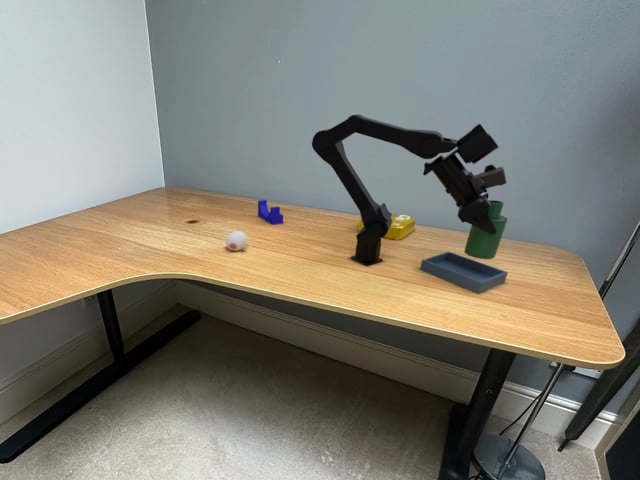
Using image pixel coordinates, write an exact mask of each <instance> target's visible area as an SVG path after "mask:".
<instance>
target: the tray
mask: <svg viewBox="0 0 640 480" xmlns="http://www.w3.org/2000/svg"><path fill="white" fill-rule="evenodd" d="M419 270H420V271H422V272H426V273H428V274H430V275H432V276H435V277H437V278H440V279H443V280H445V281H447V282H448V283H449V282H450V283H452V284H453V285H457V286H459V287H462V288H464V289H466V290H469V291H471V292H474V293H476V294H481V293H483V292H485V291H488V290H490V289H493V288H494V287H497V286H499V285H501V284H504V283H505V282H506V280H507V277H508V273H509V272H508V271H505V270H502V269H500V268H497V267H494V266H492V265H488V264H485V263H483V262H480V261H477V260H475V259H471V258H469V257H466V256H462V255H460V254H457V253H454V252H451V251H446V252H441V253H440V254H437V255H434V256H429V257H426V258H424V259H422V260H421V263H420V268H419Z"/></svg>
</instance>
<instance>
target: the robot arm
mask: <svg viewBox="0 0 640 480" xmlns="http://www.w3.org/2000/svg"><path fill="white" fill-rule="evenodd" d="M354 134H360V135H362V136H366V137H369V138H373V139H376V140H380V141H383V142H386V143H389V144H393V145H397V146H399V147H401V148H403V149H405V150H406V151H408V152H410V153H411V154H413V155H415V156H417V157H419V158H421V159H423V160H431V159H433V158H435V159H434V160H432V161H431V162H429V161H426V162H424V164H423V167H424V169H423V172H422V175H423V176H427V175H428V174H430V173H431V172H432V173H433V174H434V175H435V177H436V178H437V180H439V182H440V183H441V184H442V186H443V188H445V192H446V194H449V195H450V196H451V198H452V199H453V200H454V202H455V206H456V207H457V208H458V211H457V218H458V219H459V220H460V221H461V223H467V224H470V226H472V225H474V226H476V227H478V228H480V229H482V230H483V231H485V232H487V233H489V234H491V235H494V234H495V233H497V231H496V229H495V227H494V225H493V222H492V220H491V218H490V216H489V214H488V213H489V210H490V208H491V204H490V202H489V201H488V200H489V192H488V189H489V188H493V187H497V186H504V185H506V184H507V183H508V182H507V179H506V173H505V169H504V167H503V166H499V167H497V166H495V165H494V164H493V163H491V164H488V165H486V166H485V168H484V171H482V172H480V173H478V174H474V173H473V172H472V171H469V170H468V169H467V168H466V166H465V165H464V164H463V163H462V161H463V162H464V163H465V164H466V165H467V164H471V163H472V164H473V165H475V164H476V163H477V164H478V162H479V161H481V160H482V159H485V157H488V155H490V154H491V153H493V152H494V151H496V150H497V149H499V148H500V147H499V144H497V142H496V140H495V139H494V138H493V137H492V135H491V134H490V133H488V132H487V131H486V129H485V128H484V126H482V124H481V123H478V124H476V125H475V126H474V127H472V129H471V130H469V131H468V132H467V133H465V134H464V135H463V136H462V137H460V138H458V139H454V138H449V137H444V136H443V134H442V133H441V132H439V131H437V130H428V129H414V128H413V129H412V128H406V127H402V126H398V125H396V124H395V125H394V124H391V123H387V122H383V121H380V120H376V119H375V118H374V119H373V118H370V117H366V116H363V115H362V114H359V113H357V114H352V115H349V116H348V117H347V119H344V120H343V121H341V122H339V123H338V124H336V125H334V126H333V127H331V128H326V129H322V130H319V131H317V132H316V133H315V134H314V135H313V137H312V140H311V147H312V149H313V151H314V152H315V153H316V154H317V156H318V157H319V158H320V159H321V160H323V162H325V163H326V164H327V165H329V166H330V167H331V168H332V170H333V171H334V173H335V174H336V176H337V178H338V179H339V181H340V182H341V183H342V185H343V187H344V189H345V190H346V191H347V193H348V195H349V196H350V198H351V199H352V201H353V202H354V204H355V206H356V207H357V209H358V211H359V213H360V219H361V218H362V222H363V225H364V227H363V228H362V229H361V230H360V231H358V233H357V234H356V236H355V237H356V246H355V254H354V255H351V256H350V259H351V260H353V261H356V262H358V263H359V264H362V265H364V266H371V265H374V264H377V263H381V262H383V260H384V259H383V258H381V257H380V254H381V248H382V239H383V238H385V237H384V236H385V235H386V234H387V232H388V231H389V229H390V227H391V225H392V219H391V216H392V214H391V213H392V212H390V211H389V210H388V209H389V208H388V207H387V205H386V203H385V202H383V203H381V204H378V203H377V202H376V201H375V200H374V198H373V197H372V195H371V194H370V192H369V191H368V189H367V188H366V185H365V184H364V183H363V181H362V180H361V178H360V176H359V174H358V173H357V172H356V170H355V168H354V167H353V165H352V164H351V162H350V161H349V159H348V157H347V154H346V151H345V150H346V149H345V146H344V143H343V141H344V140H346V139H347V138H349V137H350V136H352V135H354ZM447 153H448V154H447ZM439 154H440V155H439ZM443 154H447V155H446V156H443ZM456 154H458V156H459V157H460V158H461V159H462V161H461V160H460V159H459V157H458V156H457V155H456ZM438 155H439V156H438ZM437 156H438V157H437ZM436 157H437V158H436ZM483 193H484V194H483ZM482 194H483V195H482Z"/></svg>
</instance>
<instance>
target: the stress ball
mask: <svg viewBox="0 0 640 480" xmlns="http://www.w3.org/2000/svg"><path fill="white" fill-rule="evenodd" d="M247 243H248V236H247V235H246V233H244V232H243V231H240V230H235V231H232V232H230V233H229V234H228V235H227V237H226V238H225V245H226V246H225V247H226V248H227V249H229V251H230V250H231V251H240V250H242V253H243V252H245V250H244V249H243V248H245V246H246V245H247Z"/></svg>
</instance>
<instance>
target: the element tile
mask: <svg viewBox="0 0 640 480" xmlns="http://www.w3.org/2000/svg"><path fill="white" fill-rule="evenodd" d="M390 213H391V214H392V216H391V219H392V225H391V227H390V229H389V231H388V232H387V234H386V235H385V236H384V237H383V238H384V239H390V240H394V241H398V240H399V241H400V240H402V239H403V238H405V237H406V236H407V235H409V234H410V233H411V232H413V230H415V229H414V228H415V224H416V218H415V217H414V216H410V215H405V214H399V213H394V212H390ZM363 227H364V225H363V222H362V218H361V217H360V219H359V224H358V232H360V230H361V229H362V228H363Z"/></svg>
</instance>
